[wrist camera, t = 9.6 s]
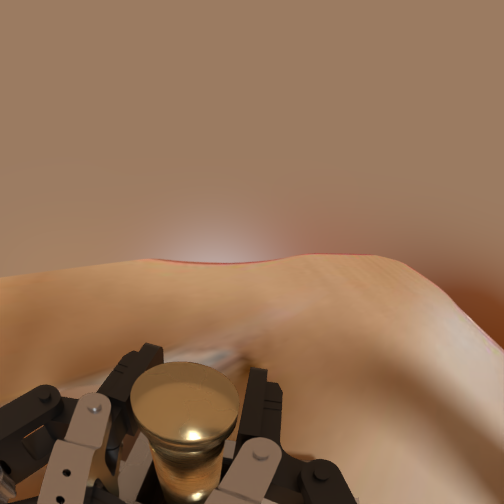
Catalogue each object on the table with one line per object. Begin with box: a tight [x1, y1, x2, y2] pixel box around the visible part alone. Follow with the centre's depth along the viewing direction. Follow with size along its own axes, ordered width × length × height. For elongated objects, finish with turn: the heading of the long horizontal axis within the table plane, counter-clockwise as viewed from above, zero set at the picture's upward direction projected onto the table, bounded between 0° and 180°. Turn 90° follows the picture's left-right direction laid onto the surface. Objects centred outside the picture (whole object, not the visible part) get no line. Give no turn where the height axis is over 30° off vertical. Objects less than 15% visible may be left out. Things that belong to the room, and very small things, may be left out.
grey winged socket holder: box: [118, 432, 359, 504], centre depth 12 cm, size 19×7×7 cm, turn 82°
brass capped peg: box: [130, 362, 239, 504], centre depth 11 cm, size 4×4×14 cm
